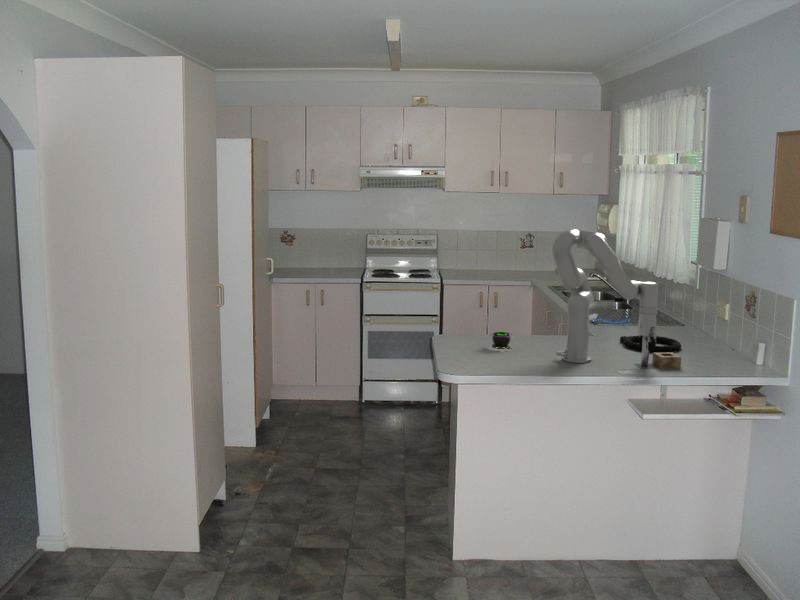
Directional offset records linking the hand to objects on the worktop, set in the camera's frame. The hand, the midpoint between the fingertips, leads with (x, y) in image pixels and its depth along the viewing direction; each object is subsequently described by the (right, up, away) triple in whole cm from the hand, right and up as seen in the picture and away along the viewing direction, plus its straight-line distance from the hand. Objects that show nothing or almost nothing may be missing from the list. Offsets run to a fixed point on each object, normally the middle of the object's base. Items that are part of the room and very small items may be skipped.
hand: (647, 348), depth 346 cm
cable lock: (+15, -2, +43) cm, 45 cm away
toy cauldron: (-60, -3, +36) cm, 70 cm away
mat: (+5, -8, +2) cm, 10 cm away
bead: (+9, -8, +3) cm, 12 cm away
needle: (-1, -8, +2) cm, 8 cm away
